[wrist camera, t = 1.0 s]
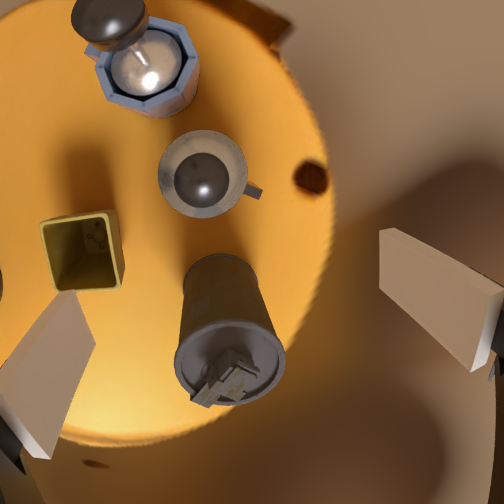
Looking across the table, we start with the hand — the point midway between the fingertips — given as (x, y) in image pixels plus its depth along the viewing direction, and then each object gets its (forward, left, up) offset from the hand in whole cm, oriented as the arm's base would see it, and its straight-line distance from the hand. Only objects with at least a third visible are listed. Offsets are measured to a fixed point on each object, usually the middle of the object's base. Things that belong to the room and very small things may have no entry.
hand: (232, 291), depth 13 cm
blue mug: (-12, +10, -29) cm, 33 cm away
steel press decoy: (-2, +2, -29) cm, 29 cm away
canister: (+6, -13, -30) cm, 32 cm away
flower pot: (-12, -11, -30) cm, 34 cm away
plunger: (-11, +10, -18) cm, 24 cm away
